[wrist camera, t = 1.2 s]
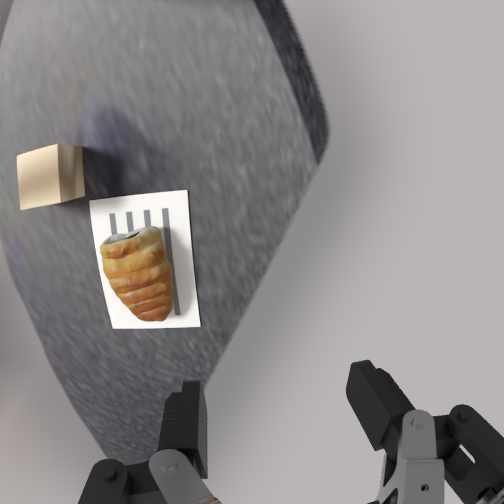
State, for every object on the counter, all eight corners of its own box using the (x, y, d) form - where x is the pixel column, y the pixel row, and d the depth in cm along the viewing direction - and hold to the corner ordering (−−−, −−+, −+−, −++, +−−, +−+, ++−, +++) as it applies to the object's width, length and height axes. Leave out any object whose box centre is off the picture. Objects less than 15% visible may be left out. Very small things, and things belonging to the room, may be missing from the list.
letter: (89, 200, 25) (89, 200, 24) (187, 190, 26) (187, 190, 25) (113, 327, 29) (113, 328, 28) (200, 325, 30) (200, 326, 29)
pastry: (190, 307, 29) (186, 326, 25) (132, 320, 28) (122, 339, 25) (160, 218, 26) (150, 227, 22) (99, 238, 26) (83, 249, 22)
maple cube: (44, 155, 23) (17, 155, 18) (82, 146, 23) (57, 143, 18) (47, 202, 24) (20, 209, 19) (85, 196, 25) (61, 202, 20)
